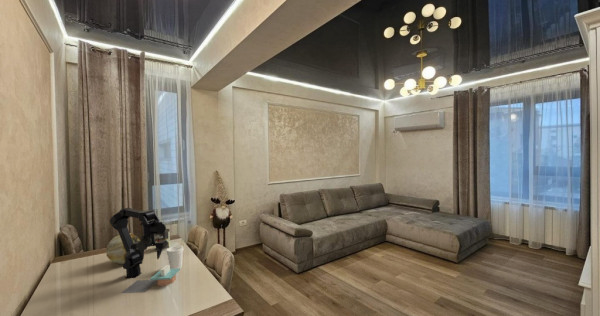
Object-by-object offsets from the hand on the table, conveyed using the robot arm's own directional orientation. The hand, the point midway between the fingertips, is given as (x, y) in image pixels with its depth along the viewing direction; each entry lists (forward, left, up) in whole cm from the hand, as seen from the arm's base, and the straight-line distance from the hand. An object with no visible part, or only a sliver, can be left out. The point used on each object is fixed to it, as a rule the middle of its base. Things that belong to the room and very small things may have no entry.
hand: (150, 259), depth 146 cm
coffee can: (-21, +50, -12) cm, 56 cm away
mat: (-1, -8, -12) cm, 14 cm away
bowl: (+11, -4, -12) cm, 17 cm away
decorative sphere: (-34, +26, -12) cm, 45 cm away
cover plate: (+11, -4, -8) cm, 14 cm away
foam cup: (+8, +13, -12) cm, 20 cm away
